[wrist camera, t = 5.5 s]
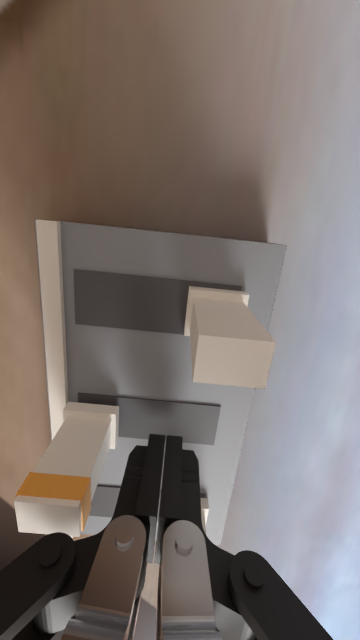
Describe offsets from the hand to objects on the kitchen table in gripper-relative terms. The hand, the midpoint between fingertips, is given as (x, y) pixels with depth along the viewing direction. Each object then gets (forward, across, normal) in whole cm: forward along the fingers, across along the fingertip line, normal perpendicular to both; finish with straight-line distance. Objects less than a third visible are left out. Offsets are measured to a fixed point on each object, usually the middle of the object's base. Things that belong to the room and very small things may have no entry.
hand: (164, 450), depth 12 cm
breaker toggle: (+1, +4, 0) cm, 4 cm away
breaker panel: (+4, +1, 0) cm, 4 cm away
